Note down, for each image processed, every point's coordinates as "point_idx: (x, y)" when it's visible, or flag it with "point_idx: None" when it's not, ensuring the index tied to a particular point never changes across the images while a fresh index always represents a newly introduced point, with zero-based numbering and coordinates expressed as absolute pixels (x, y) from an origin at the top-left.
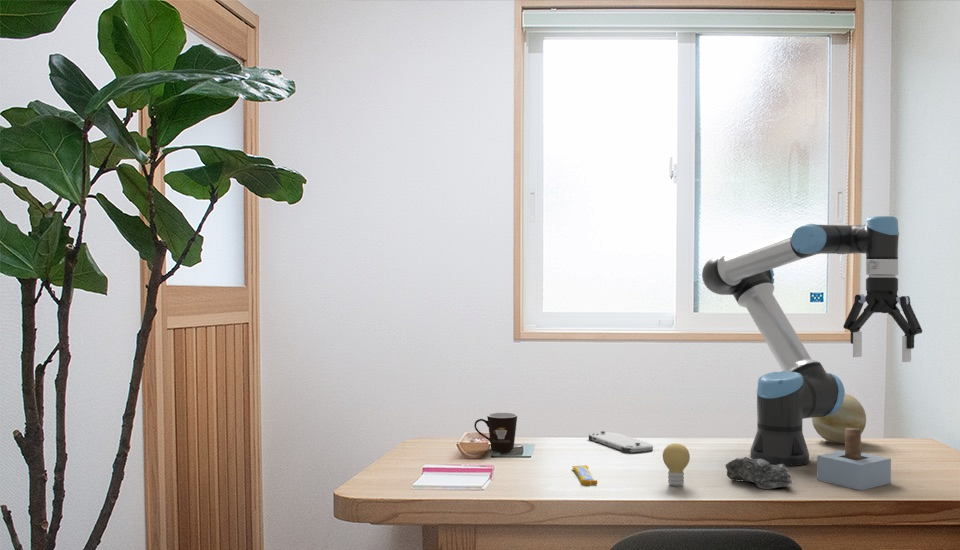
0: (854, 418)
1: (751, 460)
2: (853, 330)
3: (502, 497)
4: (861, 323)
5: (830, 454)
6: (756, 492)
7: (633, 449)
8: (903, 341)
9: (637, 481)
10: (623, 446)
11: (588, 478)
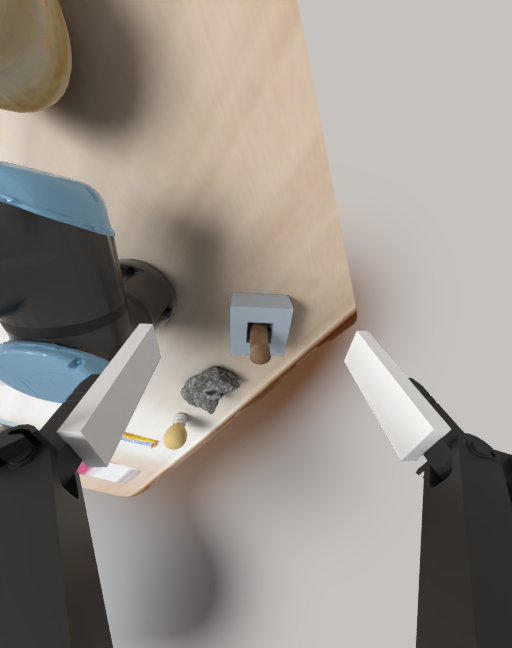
0: (45, 38)
1: (211, 407)
2: (79, 478)
3: (160, 470)
4: (80, 541)
5: (235, 341)
6: (228, 394)
7: None
8: (390, 431)
9: (160, 424)
10: None
11: (149, 445)
